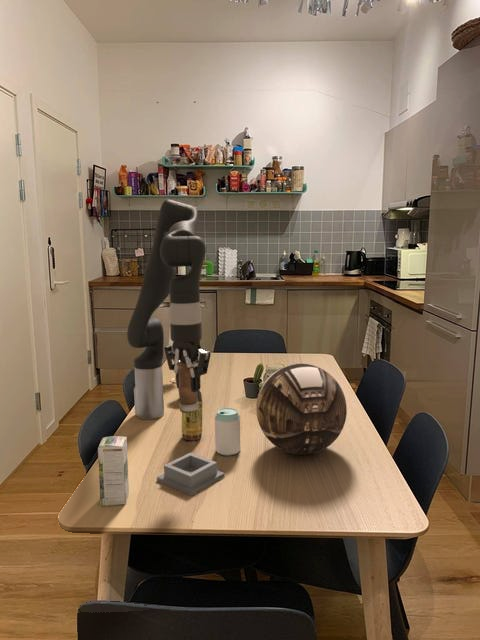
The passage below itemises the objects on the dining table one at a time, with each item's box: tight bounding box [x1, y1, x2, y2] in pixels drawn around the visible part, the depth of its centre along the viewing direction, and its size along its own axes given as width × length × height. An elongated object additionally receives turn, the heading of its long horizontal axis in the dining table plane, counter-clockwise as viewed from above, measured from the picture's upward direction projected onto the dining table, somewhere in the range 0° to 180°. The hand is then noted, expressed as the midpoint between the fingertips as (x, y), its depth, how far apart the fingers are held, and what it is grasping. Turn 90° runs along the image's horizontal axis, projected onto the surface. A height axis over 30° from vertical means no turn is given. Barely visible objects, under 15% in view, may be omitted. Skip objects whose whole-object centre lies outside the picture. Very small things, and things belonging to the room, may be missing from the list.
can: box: [214, 407, 241, 457], centre depth 142 cm, size 7×7×12 cm
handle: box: [178, 362, 198, 413], centre depth 123 cm, size 5×5×12 cm
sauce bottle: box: [181, 390, 203, 441], centre depth 152 cm, size 6×6×20 cm
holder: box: [156, 452, 225, 497], centre depth 127 cm, size 12×12×4 cm
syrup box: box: [97, 435, 130, 507], centre depth 117 cm, size 6×6×14 cm
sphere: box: [255, 363, 348, 456], centre depth 141 cm, size 25×25×25 cm
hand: (188, 389), depth 124 cm, fingers closed on handle, 4 cm apart
